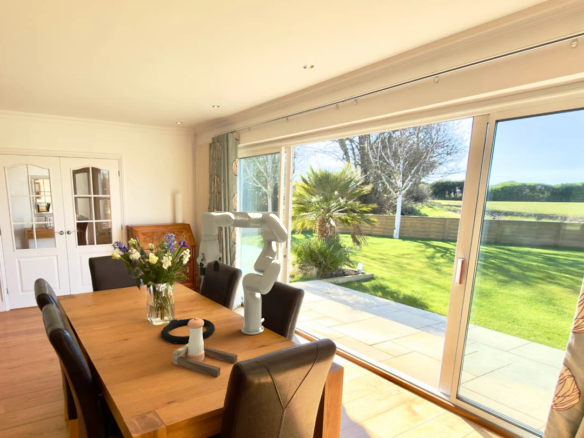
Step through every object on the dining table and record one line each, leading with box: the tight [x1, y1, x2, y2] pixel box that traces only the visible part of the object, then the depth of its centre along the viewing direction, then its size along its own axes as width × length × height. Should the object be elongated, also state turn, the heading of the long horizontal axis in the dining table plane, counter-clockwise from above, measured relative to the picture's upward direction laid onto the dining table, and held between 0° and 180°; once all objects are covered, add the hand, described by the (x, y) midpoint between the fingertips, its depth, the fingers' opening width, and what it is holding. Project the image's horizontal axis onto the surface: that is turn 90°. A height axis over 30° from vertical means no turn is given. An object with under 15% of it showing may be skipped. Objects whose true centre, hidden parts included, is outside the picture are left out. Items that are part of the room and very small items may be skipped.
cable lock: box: [160, 317, 216, 345], centre depth 171 cm, size 28×4×30 cm
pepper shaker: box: [187, 316, 205, 363], centre depth 142 cm, size 7×7×19 cm
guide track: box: [172, 343, 238, 378], centre depth 139 cm, size 14×24×5 cm, turn 65°
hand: (209, 273), depth 153 cm, fingers open, 9 cm apart
